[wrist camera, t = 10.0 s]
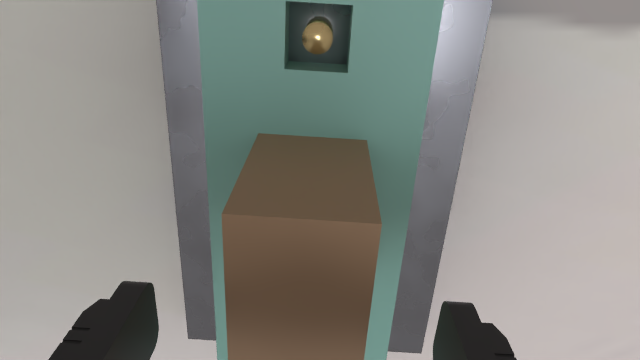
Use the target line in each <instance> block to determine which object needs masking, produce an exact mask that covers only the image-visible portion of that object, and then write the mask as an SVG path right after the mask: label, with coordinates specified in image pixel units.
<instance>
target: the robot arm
mask: <svg viewBox="0 0 640 360" xmlns="http://www.w3.org/2000/svg"><path fill="white" fill-rule="evenodd" d="M158 330H159V326H158V317H157V309H156V301H155V292H154V287H153V284H152V283H147V282H131V281H123V282H122V283H120V285H119V286H118V288H117V289H116V291H115V292H114V294H113V295H112V297H111V298H110V300H109V299H100V300H98V301H97V302H95V303H94V304H93V305H91V306H90V307H89V308H87V309H86V310H85V311H83V312H82V314H81V315H80V317H79V318H78V319H77V321H76V322H75V324H74V325H73V326H72V330H69V332H68V333H67V335H66V336H65V337H64V339H63V342H62V343H60V344H59V346H58V347H57V349H56V350H55V351H54V353H53V354H52V355H51V357H50V358H49V360H150V357H151V355H152V353H153V351H154V349H155V346H156V343H157V338H158ZM433 360H517V359H516V358H514V353H513V351H512V349H511V347H510V344H509V342H508V340H507V338H506V337H505V336H504V335H503V334H502V333H501V332H500V331H499V330H498V329H497V328H496V327H495V326H494V325H493V324H492V323H481V321H480V318H479V316H478V314H477V311H476V309H475V307H474V305H473V304H472V303H465V302H449V301H444V302H443V304H442V307H441V311H440V316H439V320H438V325H437V329H436V334H435V339H434V344H433Z"/></svg>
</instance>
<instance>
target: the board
mask: <svg viewBox="0 0 640 360" xmlns="http://www.w3.org/2000/svg"><path fill="white" fill-rule="evenodd" d="M290 1H293V2H309V3H325V4H342V5H351V17H350V30H349V43H348V55H347V65H346V64H330V63H313V62H297V61H288V52H289V12H290ZM443 4H444V0H197V10H198V28H199V45H200V63H201V80H202V98H203V115H204V133H205V150H206V168H207V185H208V203H209V220H210V238H211V255H212V273H213V290H214V308H215V325H216V343H217V360H386V358H387V352H388V345H389V339H390V333H391V327H392V321H393V314H394V308H395V302H396V296H397V290H398V283H399V277H400V271H401V265H402V259H403V252H404V246H405V240H406V234H407V228H408V221H409V215H410V209H411V203H412V197H413V190H414V184H415V178H416V172H417V166H418V159H419V153H420V147H421V141H422V135H423V128H424V122H425V116H426V110H427V104H428V97H429V91H430V85H431V79H432V73H433V66H434V60H435V54H436V48H437V42H438V35H439V29H440V23H441V17H442V11H443Z"/></svg>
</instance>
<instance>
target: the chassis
mask: <svg viewBox="0 0 640 360" xmlns="http://www.w3.org/2000/svg"><path fill="white" fill-rule="evenodd" d="M492 2H493V0H444V4H443V11H442V17H441V23H440V29H439V35H438V42H437V48H436V54H435V60H434V66H433V73H432V79H431V85H430V91H429V97H428V104H427V110H426V116H425V122H424V128H423V135H422V141H421V147H420V153H419V159H418V166H417V172H416V178H415V184H414V190H413V197H412V203H411V209H410V215H409V221H408V228H407V234H406V240H405V246H404V252H403V259H402V265H401V271H400V277H399V283H398V290H397V296H396V302H395V308H394V314H393V321H392V327H391V333H390V339H389V345H388V351H391V352H407V353H421V352H422V347H423V342H424V337H425V332H426V327H427V322H428V318H429V313H430V308H431V303H432V298H433V293H434V288H435V283H436V278H437V273H438V268H439V263H440V258H441V253H442V248H443V244H444V239H445V234H446V229H447V224H448V219H449V214H450V209H451V204H452V199H453V194H454V189H455V184H456V179H457V174H458V170H459V165H460V160H461V155H462V150H463V145H464V140H465V135H466V130H467V125H468V120H469V115H470V110H471V105H472V101H473V96H474V91H475V86H476V81H477V76H478V71H479V66H480V61H481V56H482V51H483V46H484V41H485V36H486V31H487V27H488V22H489V17H490V12H491V7H492ZM156 4H157V14H158V25H159V35H160V46H161V56H162V67H163V78H164V88H165V99H166V109H167V120H168V130H169V141H170V152H171V162H172V173H173V183H174V194H175V204H176V215H177V226H178V236H179V247H180V257H181V268H182V279H183V289H184V300H185V310H186V321H187V331H188V339H202V340H216V325H215V308H214V290H213V273H212V255H211V238H210V220H209V203H208V185H207V168H206V150H205V133H204V115H203V98H202V80H201V63H200V45H199V28H198V10H197V0H156ZM350 17H351V5H342V4H325V3H309V2H293V1H290V12H289V52H288V61H297V62H313V63H330V64H346V65H347V55H348V43H349V30H350Z"/></svg>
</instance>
